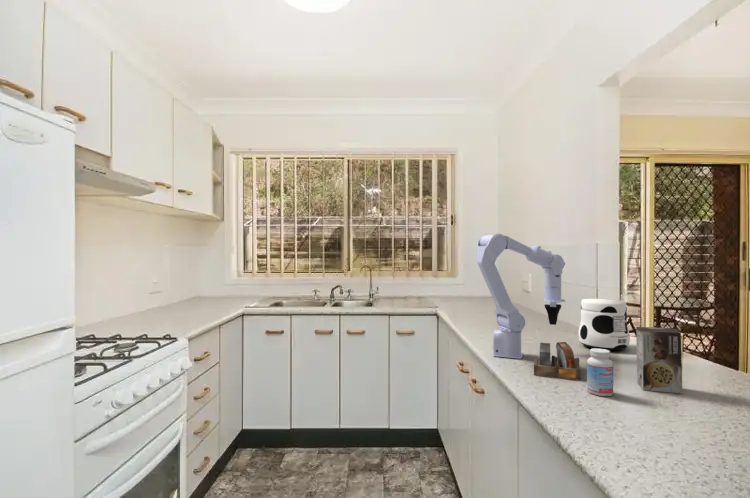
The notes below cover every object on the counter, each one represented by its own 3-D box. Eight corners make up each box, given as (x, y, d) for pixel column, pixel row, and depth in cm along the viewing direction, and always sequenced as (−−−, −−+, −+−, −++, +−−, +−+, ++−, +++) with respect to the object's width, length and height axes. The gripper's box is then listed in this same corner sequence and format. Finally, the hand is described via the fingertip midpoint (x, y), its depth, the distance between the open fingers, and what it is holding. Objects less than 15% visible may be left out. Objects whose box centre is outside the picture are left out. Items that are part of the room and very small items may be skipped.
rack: (533, 375, 124) (533, 352, 124) (535, 362, 138) (535, 341, 138) (582, 380, 119) (582, 356, 119) (579, 366, 133) (578, 344, 133)
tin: (576, 379, 120) (576, 350, 120) (564, 378, 121) (564, 349, 121) (565, 365, 135) (565, 339, 135) (555, 364, 136) (554, 338, 136)
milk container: (582, 340, 171) (582, 297, 171) (631, 346, 160) (631, 300, 160) (574, 349, 156) (574, 301, 157) (627, 355, 146) (627, 305, 146)
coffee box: (673, 386, 114) (673, 327, 114) (682, 394, 107) (682, 332, 108) (635, 383, 117) (635, 326, 117) (642, 390, 110) (642, 330, 110)
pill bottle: (603, 398, 105) (603, 354, 105) (582, 391, 110) (581, 349, 110) (618, 394, 107) (618, 351, 107) (596, 387, 113) (596, 346, 113)
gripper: (565, 289, 142) (565, 328, 142) (564, 285, 156) (564, 321, 156) (543, 288, 145) (543, 327, 145) (543, 285, 159) (544, 320, 159)
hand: (552, 324), depth 151 cm, fingers closed
